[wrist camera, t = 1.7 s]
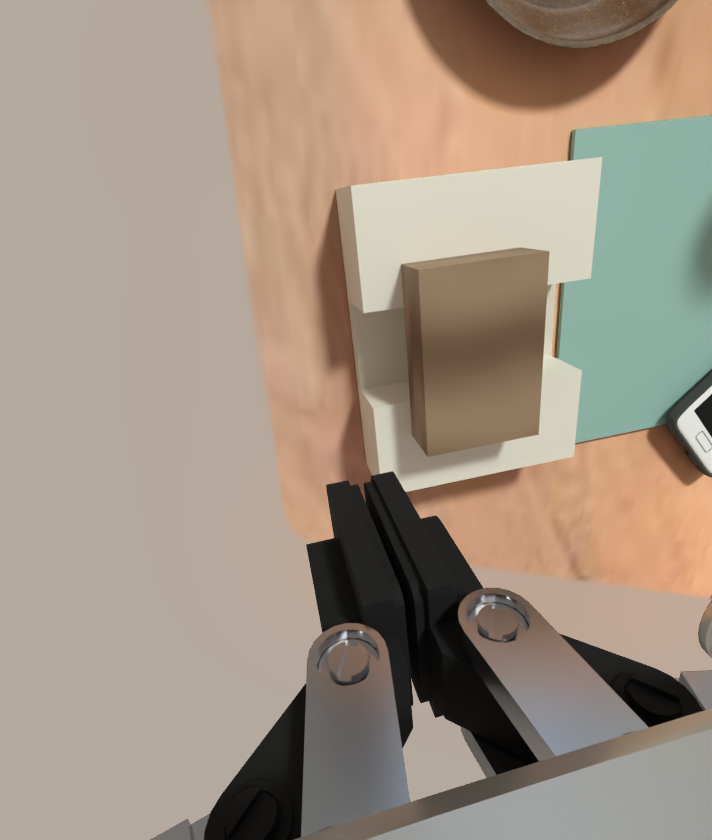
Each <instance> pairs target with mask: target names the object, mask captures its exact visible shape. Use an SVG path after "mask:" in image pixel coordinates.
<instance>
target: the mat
mask: <svg viewBox="0 0 712 840" xmlns="http://www.w3.org/2000/svg"><path fill="white" fill-rule="evenodd" d="M597 157H602V167H601V178H600V188H599V199H598V209H597V219H596V230H595V240H594V251H593V261H592V272H591V278H590V279H583V280H577V281H570V282H564V283H561V295H560V309H559V323H558V337H557V351H556V358H557V359H559V360H561V361H563V362H565V363H567V364H569V365H572V366H574V367H576V368H578V369H580V370H582V376H581V386H580V397H579V407H578V418H577V428H576V439H575V443H579V442H583V441H588V440H593V439H598V438H603V437H607V436H612V435H617V434H622V433H627V432H632V431H636V430H641V429H646V428H651V427H656V426H660V425H665V424H666V417H667V415H668V414H669V412H670V411H671V410H672V409H673V408H674V407H675V406H676V405H677V404H678V403H679V402H680V401H681V400H682V399H683V398H684V397H685V396H686V395H687V394H689V393H690V392H691V391H692V390H693V389H694V388H695V387H696V386H697V385H698V384H699V383H700V382H701V381H702V380H703V379H704V378H706V377H707V376H708V375H709V374H710V373H711V372H712V116H702V117H693V118H683V119H673V120H664V121H654V122H645V123H635V124H626V125H616V126H607V127H597V128H587V129H578V130H573V131H572V140H571V154H570V161H571V160H579V159H588V158H597Z"/></svg>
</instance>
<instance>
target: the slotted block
mask: <svg viewBox="0 0 712 840" xmlns="http://www.w3.org/2000/svg"><path fill="white" fill-rule="evenodd" d="M601 167H602V157H597V158H588V159H579V160H571V161H562V162H553V163H544V164H536V165H527V166H518V167H510V168H501V169H492V170H483V171H475V172H466V173H457V174H448V175H440V176H431V177H422V178H413V179H405V180H396V181H387V182H379V183H370V184H361V185H352V186H348V187H344V188H339V189H335V191H336V199H337V208H338V217H339V226H340V235H341V244H342V252H343V261H344V270H345V279H346V288H347V296H348V305H349V314H350V323H351V332H352V341H353V349H354V358H355V367H356V376H357V385H358V394H359V402H360V411H361V420H362V429H363V438H364V447H365V455H366V464H367V466H368V468H369V470H370V472H371V474H372V475H377V474H382V473H386V472H391V471H393V472H394V473H395V475H396V477H397V478H398V480H399V482H400V484H401V485H402V487H403V489H404V491H405V492H409V491H413V490H418V489H423V488H427V487H432V486H437V485H442V484H446V483H451V482H456V481H460V480H465V479H470V478H475V477H479V476H484V475H489V474H493V473H498V472H503V471H508V470H512V469H517V468H522V467H527V466H531V465H536V464H541V463H545V462H550V461H555V460H560V459H564V458H569V457H574V449H575V439H576V428H577V418H578V407H579V397H580V386H581V376H582V370H580V369H578V368H576V367H574V366H572V365H569V364H567V363H565V362H563V361H561V360H559V359H557V358H555V357H553V356H551V352H552V337H553V322H554V307H555V292H556V284H557V283H564V282H570V281H577V280H583V279H590V278H591V272H592V261H593V251H594V240H595V230H596V219H597V209H598V199H599V188H600V178H601ZM519 247H521V248H529V249H536V250H544V251H550V252H549V269H548V286H547V303H546V320H545V337H544V354H543V370H542V387H541V404H540V421H539V435H534V436H529V437H524V438H520V439H515V440H510V441H505V442H500V443H495V444H490V445H485V446H480V447H475V448H470V449H465V450H460V451H455V452H450V453H445V454H440V455H435V456H431V457H427V455H426V454H425V452H424V451H423V450H422V448H421V447H420V446H419V444H418V443H417V442H416V440H415V439H414V438H413V436H412V424H411V409H410V393H409V378H408V363H407V347H406V332H405V316H404V301H403V286H402V270H401V264H406V263H413V262H420V261H427V260H434V259H441V258H448V257H455V256H462V255H469V254H477V253H484V252H491V251H498V250H505V249H512V248H519Z"/></svg>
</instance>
